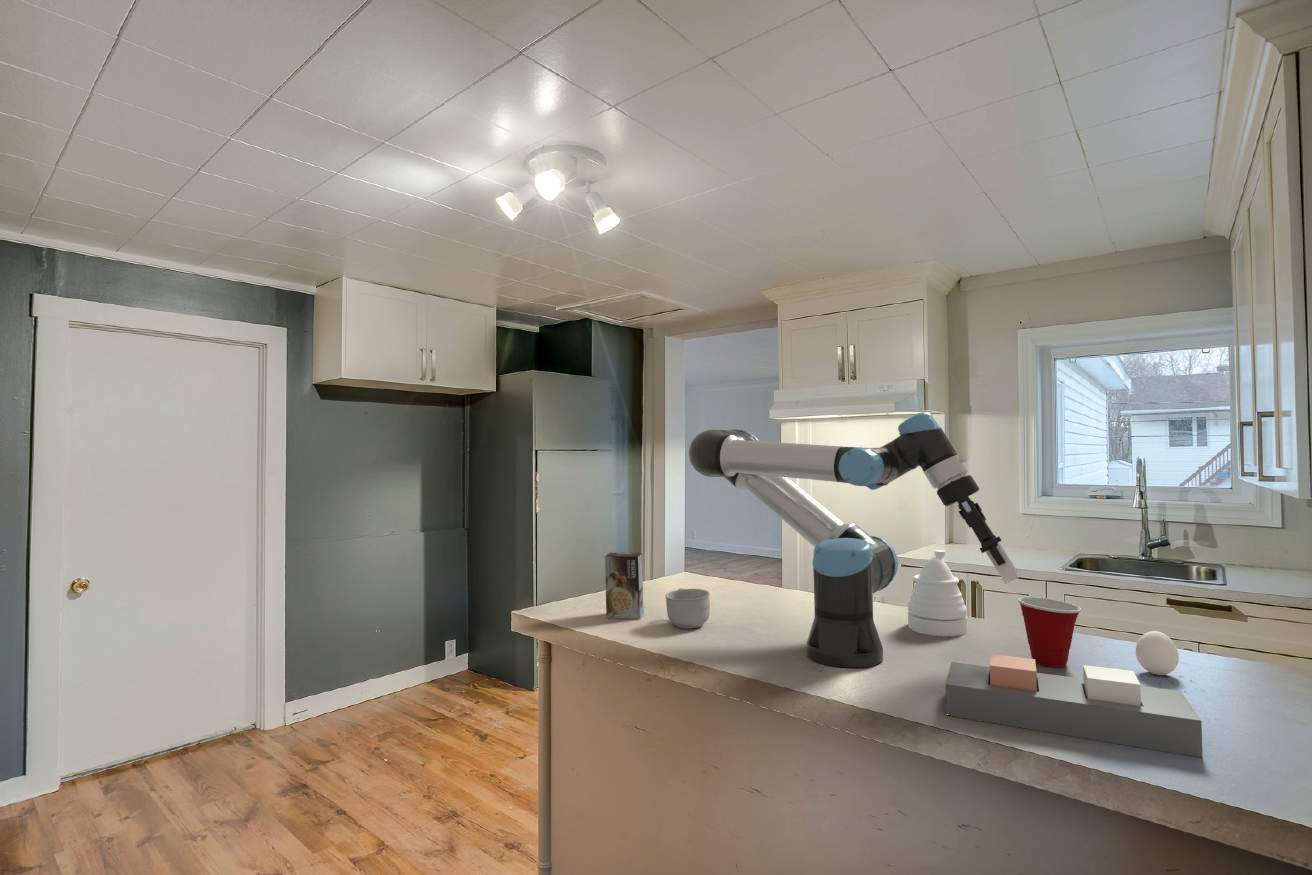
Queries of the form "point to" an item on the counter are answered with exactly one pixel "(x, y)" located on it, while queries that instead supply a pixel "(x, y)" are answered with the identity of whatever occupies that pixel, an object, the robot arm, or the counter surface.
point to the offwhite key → (1111, 685)
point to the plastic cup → (1049, 629)
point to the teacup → (688, 607)
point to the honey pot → (937, 601)
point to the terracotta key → (1013, 672)
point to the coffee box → (624, 585)
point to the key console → (1076, 711)
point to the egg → (1157, 653)
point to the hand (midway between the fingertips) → (1011, 577)
